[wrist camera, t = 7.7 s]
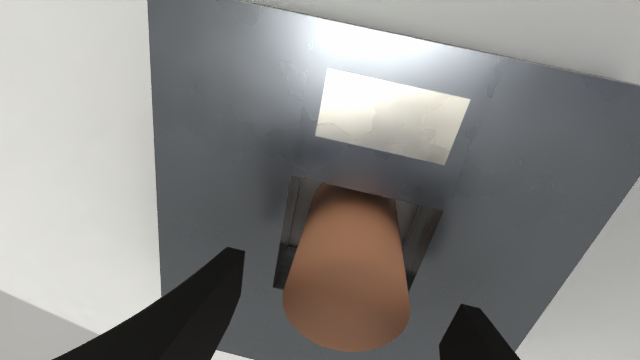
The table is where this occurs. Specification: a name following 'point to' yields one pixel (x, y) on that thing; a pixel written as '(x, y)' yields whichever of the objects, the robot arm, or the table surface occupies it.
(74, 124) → the table surface
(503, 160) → the grey square slab
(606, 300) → the table surface
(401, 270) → the peg
